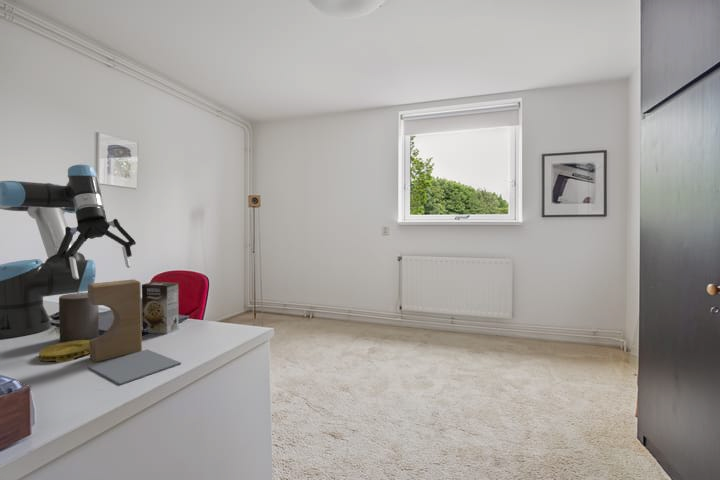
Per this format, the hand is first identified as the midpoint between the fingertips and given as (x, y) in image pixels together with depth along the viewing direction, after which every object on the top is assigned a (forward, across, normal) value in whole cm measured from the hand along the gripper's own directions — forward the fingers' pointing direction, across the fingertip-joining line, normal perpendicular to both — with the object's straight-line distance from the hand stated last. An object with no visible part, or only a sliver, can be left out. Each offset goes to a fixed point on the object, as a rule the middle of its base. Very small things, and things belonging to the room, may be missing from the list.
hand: (102, 272), depth 108 cm
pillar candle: (+16, -11, +10) cm, 22 cm away
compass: (+22, -11, -3) cm, 25 cm away
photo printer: (+18, +2, +13) cm, 23 cm away
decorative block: (+27, +1, -8) cm, 28 cm away
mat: (+32, +6, -19) cm, 37 cm away
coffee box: (+22, +11, +10) cm, 26 cm away
